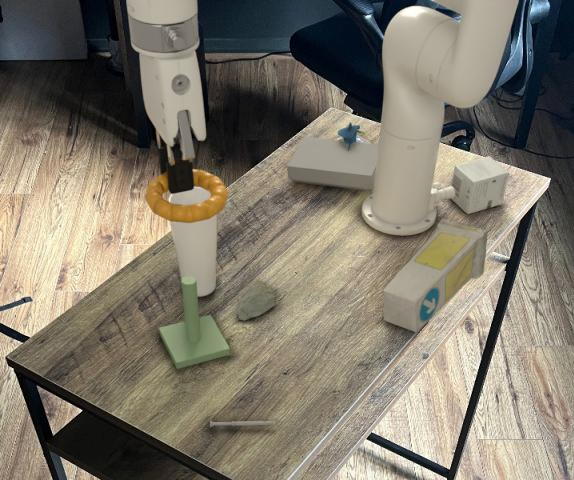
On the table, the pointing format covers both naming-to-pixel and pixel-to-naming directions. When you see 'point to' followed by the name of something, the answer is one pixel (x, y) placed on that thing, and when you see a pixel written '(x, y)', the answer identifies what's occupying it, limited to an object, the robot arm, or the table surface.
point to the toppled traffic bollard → (435, 274)
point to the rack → (193, 332)
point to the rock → (256, 302)
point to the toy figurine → (350, 134)
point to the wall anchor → (243, 423)
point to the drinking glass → (196, 243)
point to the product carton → (479, 184)
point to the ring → (187, 211)
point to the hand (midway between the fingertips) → (177, 183)
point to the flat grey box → (334, 163)
